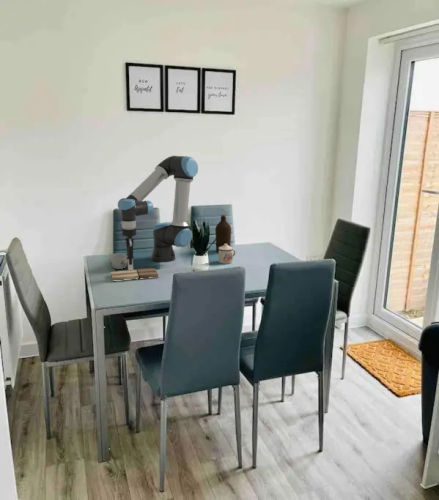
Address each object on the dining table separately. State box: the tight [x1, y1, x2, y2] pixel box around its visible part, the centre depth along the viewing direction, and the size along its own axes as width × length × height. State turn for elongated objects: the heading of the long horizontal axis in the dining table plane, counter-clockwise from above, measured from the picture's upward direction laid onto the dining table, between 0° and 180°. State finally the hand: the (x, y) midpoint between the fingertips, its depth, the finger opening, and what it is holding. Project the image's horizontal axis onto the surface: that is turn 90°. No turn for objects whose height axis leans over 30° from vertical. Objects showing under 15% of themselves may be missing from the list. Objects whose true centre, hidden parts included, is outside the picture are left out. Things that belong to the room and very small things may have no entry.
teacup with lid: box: [218, 244, 236, 265], centre depth 275 cm, size 12×9×12 cm
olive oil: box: [214, 214, 232, 254], centre depth 297 cm, size 11×11×25 cm
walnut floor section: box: [136, 267, 159, 279], centre depth 249 cm, size 12×10×2 cm
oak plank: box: [110, 268, 140, 281], centre depth 246 cm, size 12×14×2 cm
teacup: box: [107, 252, 128, 270], centre depth 262 cm, size 15×12×8 cm
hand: (130, 269), depth 246 cm, fingers closed
